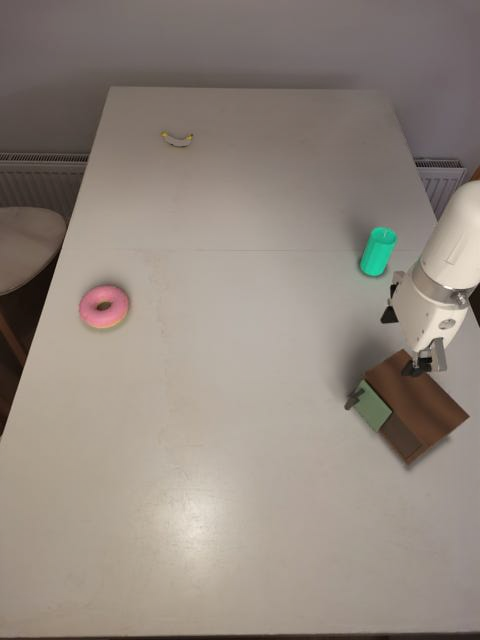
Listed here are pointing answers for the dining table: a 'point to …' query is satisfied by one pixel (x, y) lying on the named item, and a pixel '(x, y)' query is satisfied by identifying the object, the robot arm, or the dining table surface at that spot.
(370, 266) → the candle
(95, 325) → the doughnut
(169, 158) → the dining table surface
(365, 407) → the sliding door
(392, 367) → the cupboard
